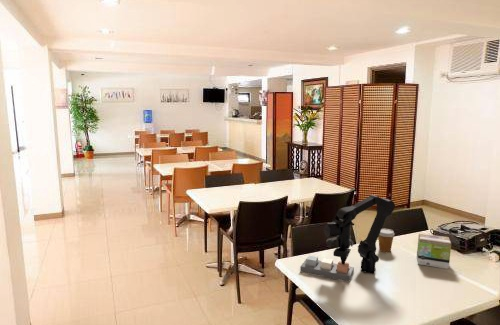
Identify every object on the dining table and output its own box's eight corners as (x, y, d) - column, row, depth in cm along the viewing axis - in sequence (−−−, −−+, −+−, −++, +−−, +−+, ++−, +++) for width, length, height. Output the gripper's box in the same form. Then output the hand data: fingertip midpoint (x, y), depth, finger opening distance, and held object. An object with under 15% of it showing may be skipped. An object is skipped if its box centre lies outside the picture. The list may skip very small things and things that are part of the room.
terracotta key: (348, 272, 178) (349, 262, 177) (346, 276, 174) (347, 266, 173) (338, 270, 180) (339, 261, 179) (336, 274, 176) (336, 264, 175)
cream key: (332, 269, 181) (333, 259, 181) (330, 273, 177) (330, 263, 176) (323, 267, 184) (323, 258, 183) (320, 271, 179) (321, 261, 178)
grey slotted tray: (353, 272, 180) (353, 267, 179) (349, 282, 170) (349, 276, 170) (306, 263, 191) (306, 258, 190) (300, 271, 181) (300, 266, 181)
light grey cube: (317, 266, 185) (318, 257, 184) (315, 269, 181) (315, 260, 180) (308, 264, 187) (308, 255, 186) (305, 268, 183) (306, 258, 182)
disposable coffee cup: (396, 253, 204) (397, 233, 202) (379, 253, 204) (380, 233, 202) (389, 247, 213) (391, 228, 211) (374, 247, 213) (375, 228, 212)
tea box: (417, 265, 189) (419, 238, 186) (416, 257, 198) (418, 232, 196) (449, 269, 183) (451, 242, 181) (446, 262, 192) (448, 236, 190)
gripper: (332, 226, 186) (331, 254, 188) (323, 237, 169) (322, 268, 171) (353, 229, 181) (352, 258, 183) (346, 241, 164) (345, 272, 167)
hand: (343, 263), depth 176 cm, fingers closed, pressing on terracotta key
